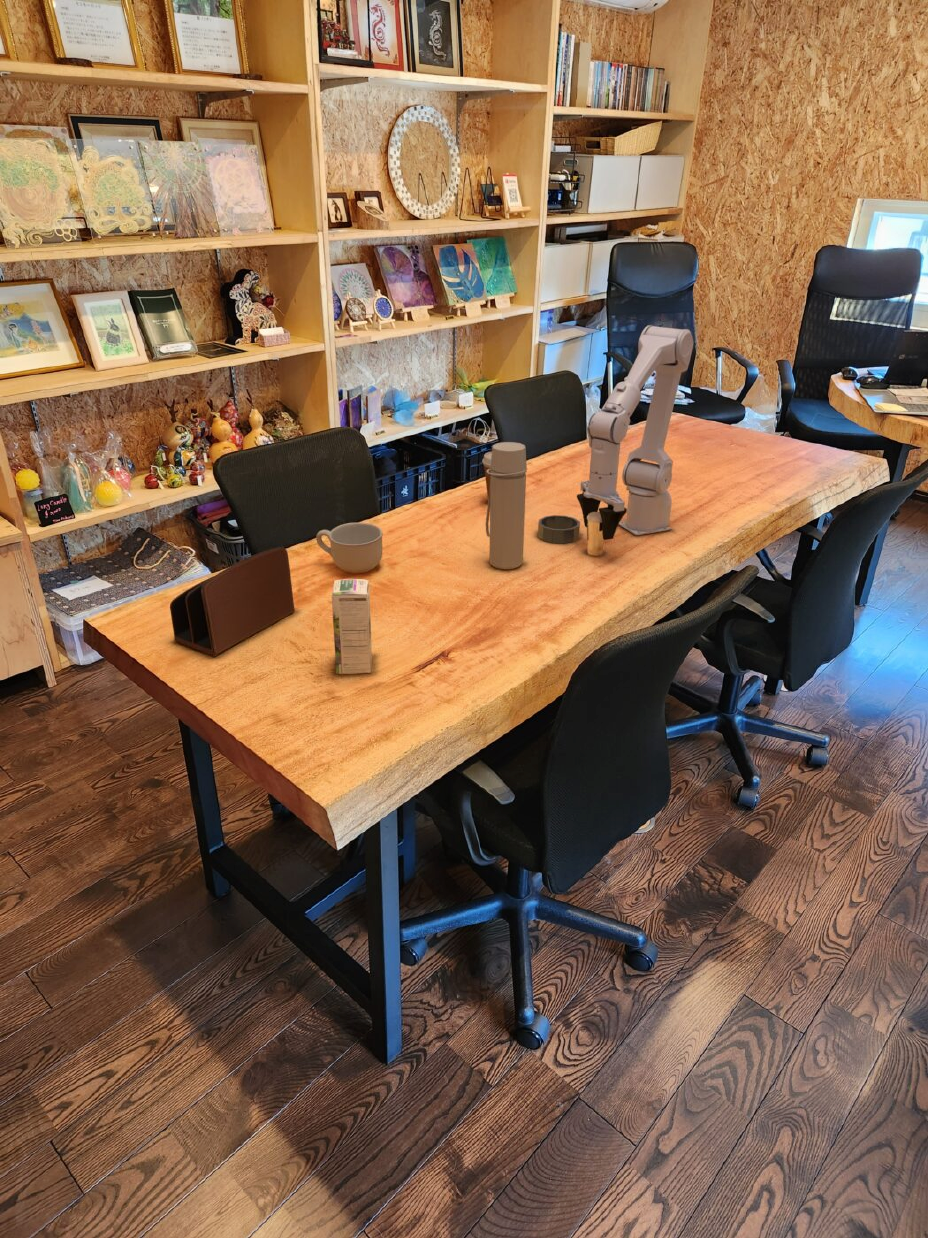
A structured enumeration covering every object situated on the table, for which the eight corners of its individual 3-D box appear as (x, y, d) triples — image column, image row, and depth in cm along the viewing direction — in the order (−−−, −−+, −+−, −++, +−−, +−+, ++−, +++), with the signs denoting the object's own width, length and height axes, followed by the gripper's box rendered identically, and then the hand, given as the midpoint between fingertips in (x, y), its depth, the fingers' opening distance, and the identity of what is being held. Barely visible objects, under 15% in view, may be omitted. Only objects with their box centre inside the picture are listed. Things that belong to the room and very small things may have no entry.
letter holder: (295, 612, 153) (288, 541, 146) (215, 658, 138) (202, 581, 132) (256, 599, 158) (247, 530, 151) (174, 642, 143) (160, 568, 136)
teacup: (393, 562, 173) (391, 527, 169) (366, 582, 164) (364, 545, 161) (337, 551, 178) (334, 516, 175) (308, 570, 170) (304, 534, 166)
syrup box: (338, 657, 138) (331, 578, 132) (373, 656, 139) (368, 577, 132) (336, 675, 133) (329, 594, 127) (372, 673, 134) (368, 593, 127)
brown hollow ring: (566, 526, 192) (567, 513, 190) (586, 539, 184) (587, 526, 183) (531, 531, 189) (531, 518, 187) (549, 545, 181) (550, 532, 180)
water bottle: (531, 563, 173) (536, 446, 161) (507, 574, 168) (510, 454, 156) (498, 551, 179) (500, 437, 167) (473, 562, 173) (474, 445, 162)
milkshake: (608, 558, 175) (612, 513, 171) (583, 556, 176) (586, 512, 172) (609, 550, 179) (613, 506, 175) (585, 548, 180) (588, 504, 176)
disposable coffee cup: (526, 500, 207) (528, 453, 202) (507, 511, 200) (509, 463, 195) (494, 493, 212) (494, 447, 206) (474, 504, 205) (474, 457, 199)
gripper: (569, 463, 174) (565, 523, 180) (605, 483, 162) (599, 547, 168) (598, 459, 176) (594, 519, 183) (635, 479, 164) (629, 542, 171)
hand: (598, 532), depth 176 cm, fingers open, 7 cm apart
